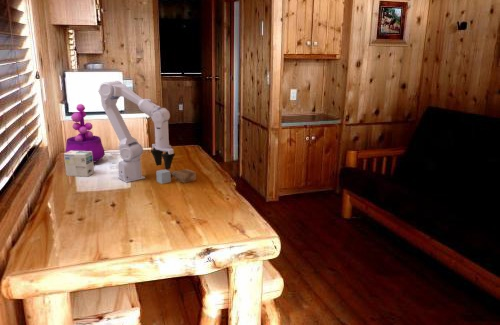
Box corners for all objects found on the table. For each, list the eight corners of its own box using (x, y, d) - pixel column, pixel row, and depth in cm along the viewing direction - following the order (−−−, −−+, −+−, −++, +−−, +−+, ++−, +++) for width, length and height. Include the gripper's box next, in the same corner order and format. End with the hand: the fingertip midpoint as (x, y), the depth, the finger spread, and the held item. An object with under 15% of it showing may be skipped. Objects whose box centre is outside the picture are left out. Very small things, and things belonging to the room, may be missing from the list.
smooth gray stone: (176, 177, 186) (176, 175, 186) (169, 174, 190) (169, 172, 190) (187, 175, 190) (187, 172, 190) (180, 172, 194) (180, 170, 194)
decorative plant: (91, 168, 197) (86, 107, 189) (58, 165, 200) (51, 105, 192) (112, 158, 215) (107, 102, 207) (80, 156, 218) (75, 101, 210)
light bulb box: (94, 172, 190) (92, 150, 187) (87, 177, 184) (85, 154, 181) (73, 171, 191) (70, 149, 188) (65, 176, 185) (63, 153, 182)
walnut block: (184, 183, 178) (184, 174, 177) (175, 180, 182) (175, 171, 181) (195, 180, 183) (195, 172, 182) (187, 177, 187) (187, 168, 186)
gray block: (162, 184, 176) (161, 173, 175) (156, 181, 180) (156, 170, 178) (170, 182, 179) (170, 171, 178) (165, 179, 182) (165, 169, 181)
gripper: (179, 138, 171) (180, 168, 175) (161, 133, 182) (162, 162, 185) (164, 140, 167) (166, 171, 170) (147, 135, 177) (148, 164, 181)
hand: (163, 167), depth 178 cm, fingers open, 7 cm apart
